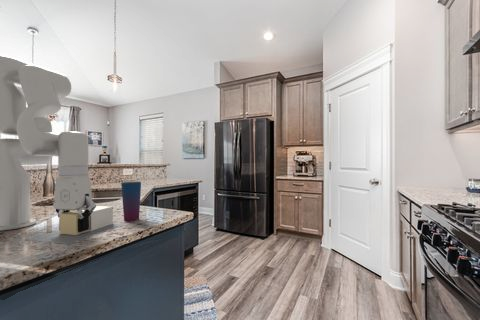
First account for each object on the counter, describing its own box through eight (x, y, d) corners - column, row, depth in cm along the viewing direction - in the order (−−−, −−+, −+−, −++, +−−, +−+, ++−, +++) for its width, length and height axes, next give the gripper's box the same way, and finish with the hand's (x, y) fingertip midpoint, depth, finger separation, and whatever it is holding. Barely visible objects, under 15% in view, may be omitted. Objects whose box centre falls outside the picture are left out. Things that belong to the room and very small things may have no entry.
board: (25, 242, 64) (25, 239, 64) (88, 223, 83) (88, 221, 83) (69, 247, 60) (69, 244, 60) (125, 226, 79) (125, 223, 79)
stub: (59, 233, 68) (59, 213, 68) (72, 229, 72) (72, 210, 72) (76, 235, 67) (76, 214, 67) (88, 231, 71) (88, 211, 71)
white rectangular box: (74, 229, 73) (74, 211, 73) (98, 222, 81) (98, 205, 82) (90, 231, 71) (90, 211, 71) (113, 223, 80) (112, 206, 80)
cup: (133, 224, 81) (133, 183, 81) (117, 224, 82) (116, 182, 82) (145, 219, 88) (144, 181, 88) (129, 219, 89) (129, 181, 89)
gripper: (39, 172, 68) (39, 232, 68) (84, 172, 64) (85, 235, 64) (64, 171, 75) (64, 225, 75) (106, 171, 71) (107, 228, 71)
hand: (74, 229), depth 69 cm, fingers closed on stub, 6 cm apart
